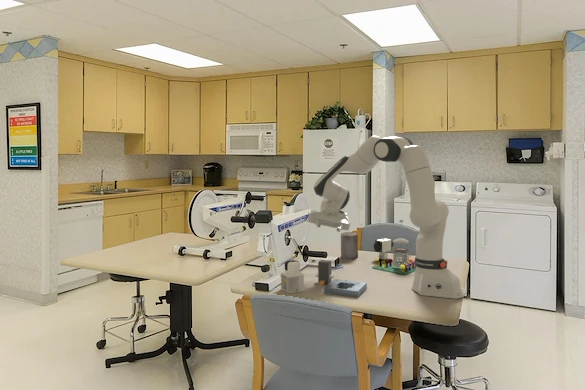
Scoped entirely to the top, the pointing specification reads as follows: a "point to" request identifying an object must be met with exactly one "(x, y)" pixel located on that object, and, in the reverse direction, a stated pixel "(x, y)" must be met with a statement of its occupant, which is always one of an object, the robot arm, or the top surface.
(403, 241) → the french press
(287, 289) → the container
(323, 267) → the block
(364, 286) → the plate
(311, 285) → the top surface
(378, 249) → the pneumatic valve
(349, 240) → the pillar candle
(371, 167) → the robot arm
